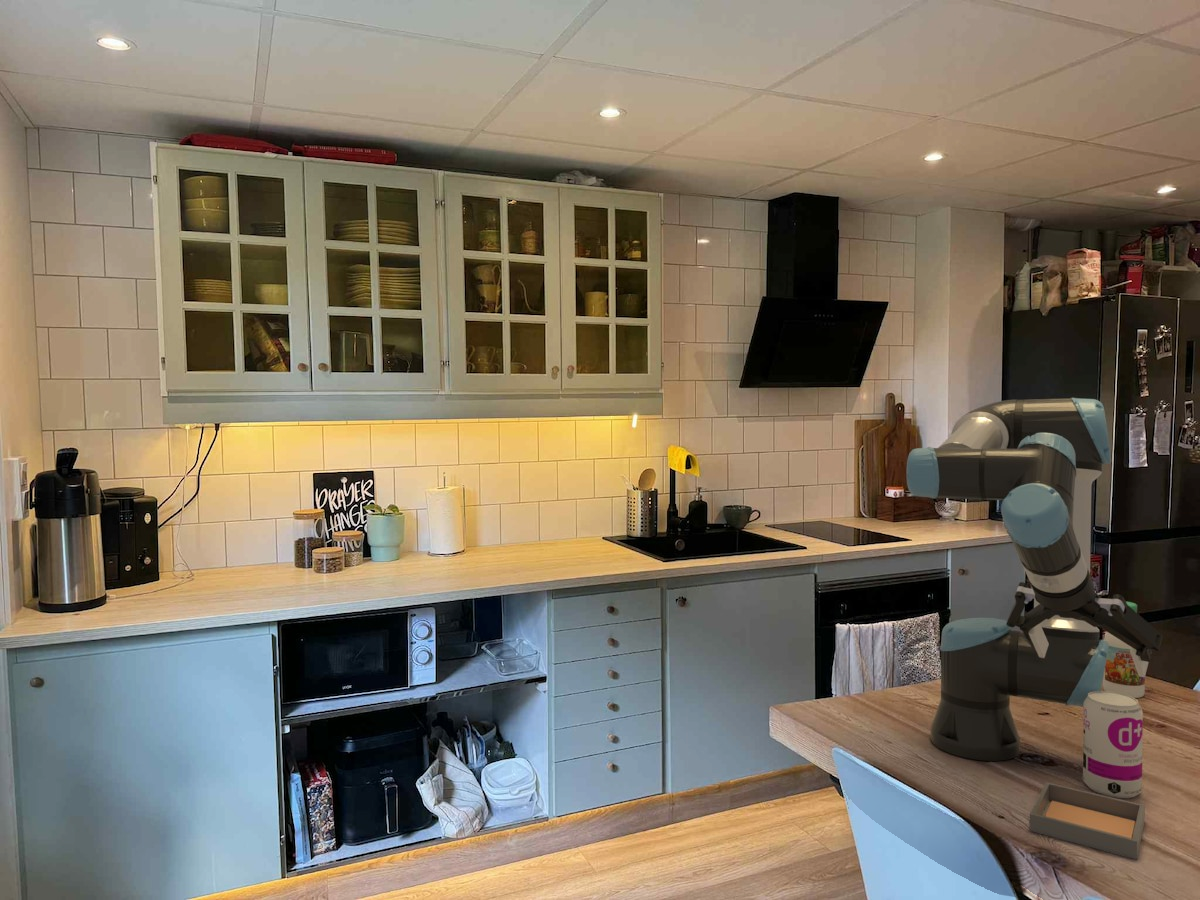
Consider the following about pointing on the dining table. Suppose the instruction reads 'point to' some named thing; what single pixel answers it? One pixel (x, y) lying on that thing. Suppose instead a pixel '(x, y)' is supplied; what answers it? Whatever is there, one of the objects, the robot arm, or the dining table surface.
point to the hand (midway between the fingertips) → (1091, 659)
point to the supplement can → (1112, 744)
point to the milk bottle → (1122, 667)
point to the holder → (1089, 819)
